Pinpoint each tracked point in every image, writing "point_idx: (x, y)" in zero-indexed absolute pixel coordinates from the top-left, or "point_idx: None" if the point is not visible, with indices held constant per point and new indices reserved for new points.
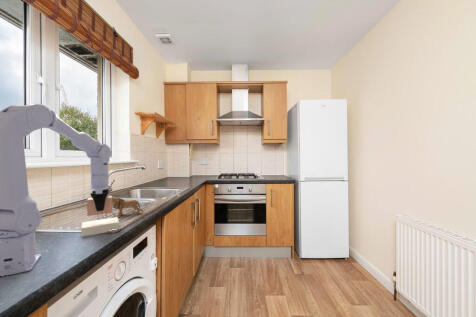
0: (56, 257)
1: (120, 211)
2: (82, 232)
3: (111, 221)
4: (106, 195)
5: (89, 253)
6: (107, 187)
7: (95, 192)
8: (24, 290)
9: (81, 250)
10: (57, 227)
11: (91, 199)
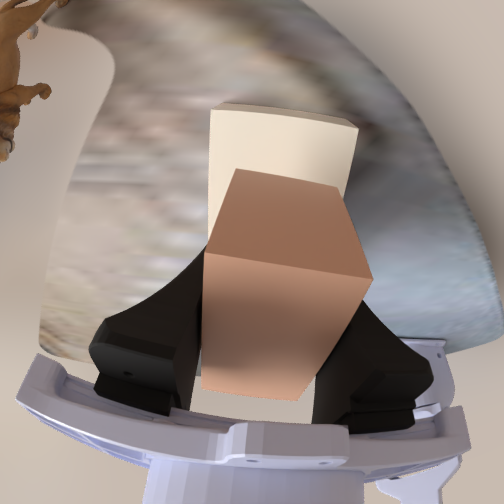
0: (429, 314)
1: (34, 93)
2: None
3: (304, 161)
4: (422, 360)
5: (478, 260)
6: (366, 446)
7: (186, 404)
8: (492, 331)
9: (444, 273)
10: None
11: (297, 388)
